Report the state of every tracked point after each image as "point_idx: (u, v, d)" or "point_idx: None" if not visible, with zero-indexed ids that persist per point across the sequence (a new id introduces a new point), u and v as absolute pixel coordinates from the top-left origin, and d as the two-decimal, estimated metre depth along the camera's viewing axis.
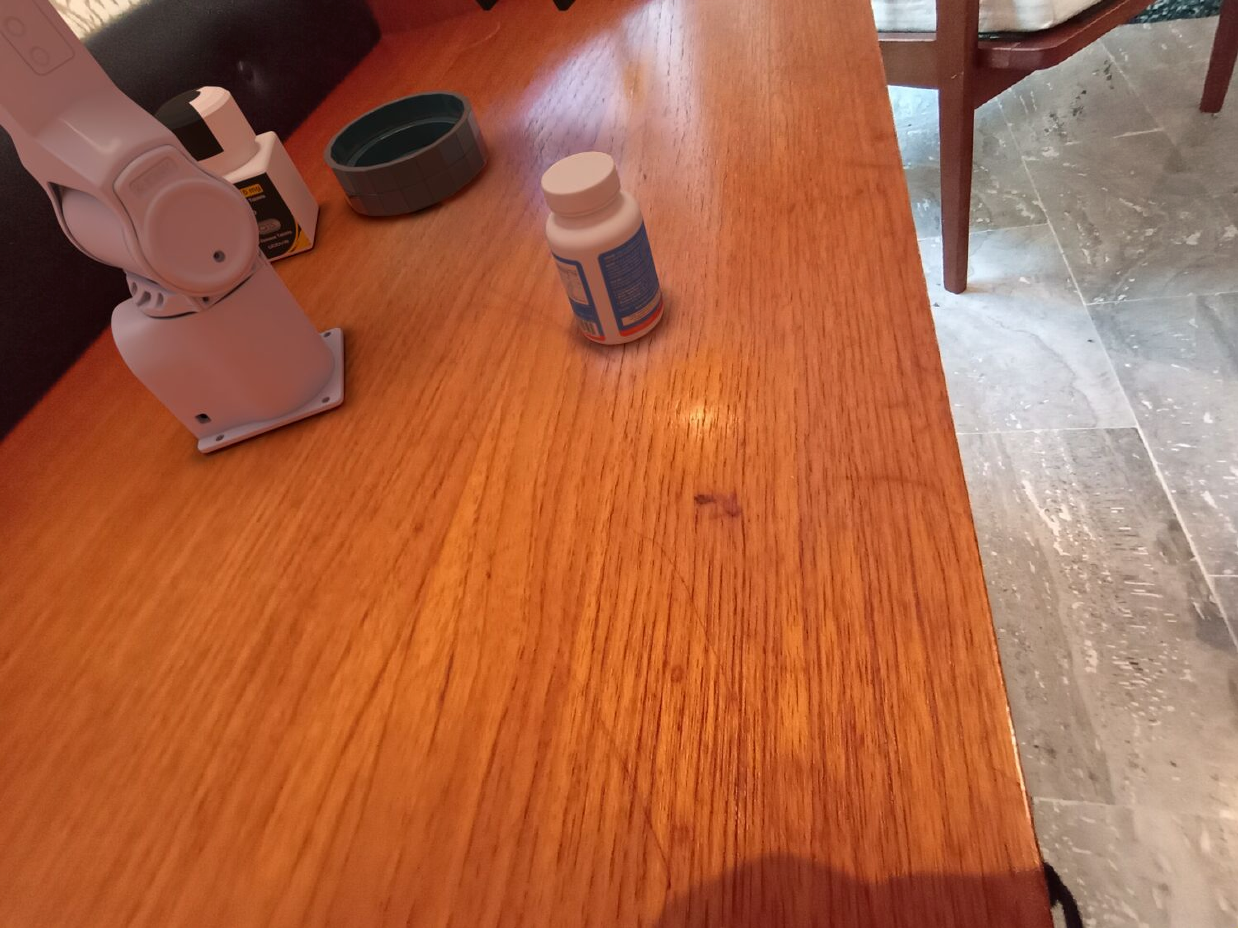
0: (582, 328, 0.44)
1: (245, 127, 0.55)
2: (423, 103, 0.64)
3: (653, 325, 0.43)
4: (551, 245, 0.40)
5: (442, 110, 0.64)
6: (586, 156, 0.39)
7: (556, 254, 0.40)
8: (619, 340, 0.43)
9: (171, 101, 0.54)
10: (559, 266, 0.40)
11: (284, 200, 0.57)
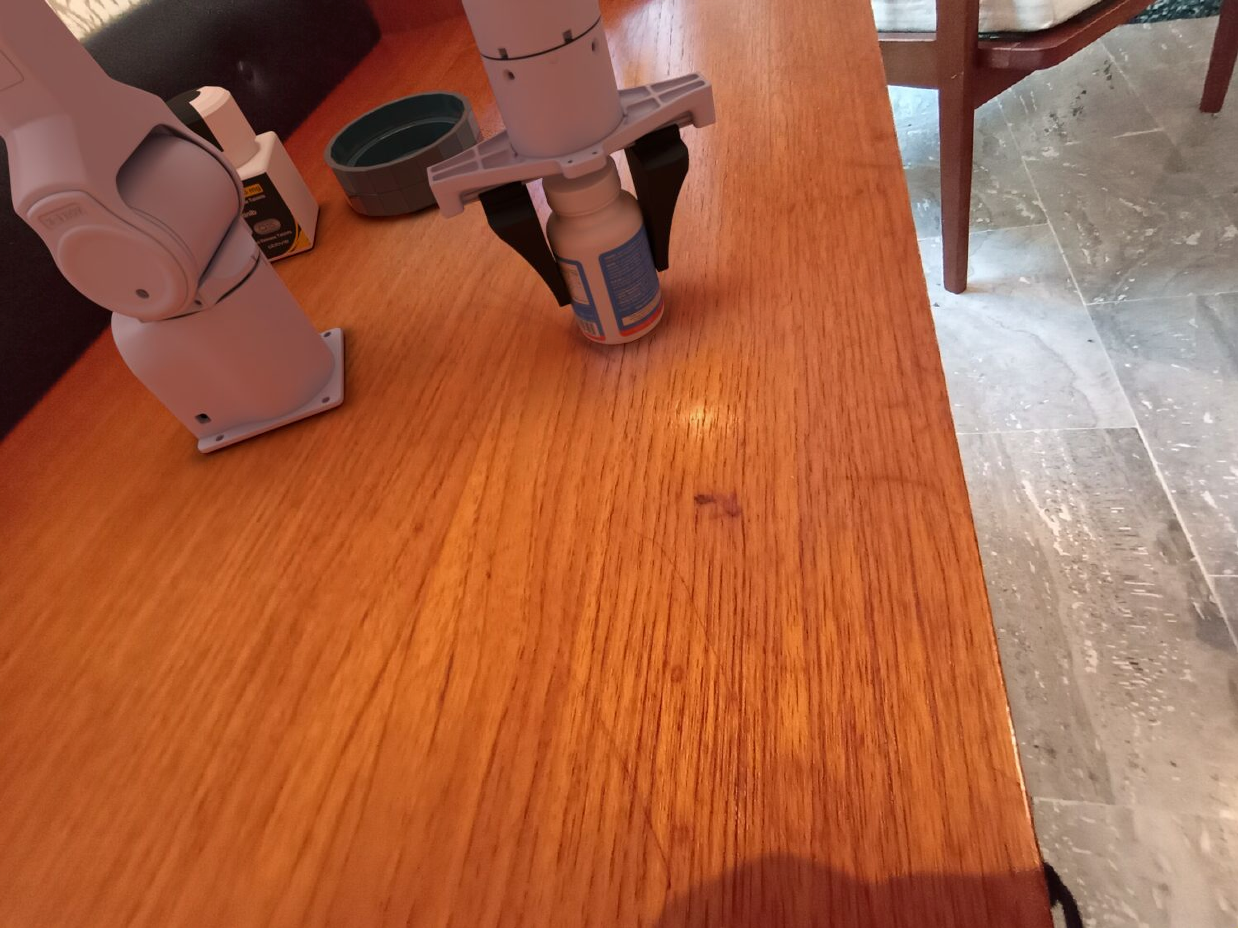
0: (582, 328, 0.44)
1: (245, 127, 0.55)
2: (423, 103, 0.64)
3: (653, 325, 0.43)
4: (552, 245, 0.40)
5: (442, 110, 0.64)
6: None
7: (557, 254, 0.40)
8: (619, 340, 0.43)
9: (171, 101, 0.54)
10: (559, 266, 0.40)
11: (284, 200, 0.57)
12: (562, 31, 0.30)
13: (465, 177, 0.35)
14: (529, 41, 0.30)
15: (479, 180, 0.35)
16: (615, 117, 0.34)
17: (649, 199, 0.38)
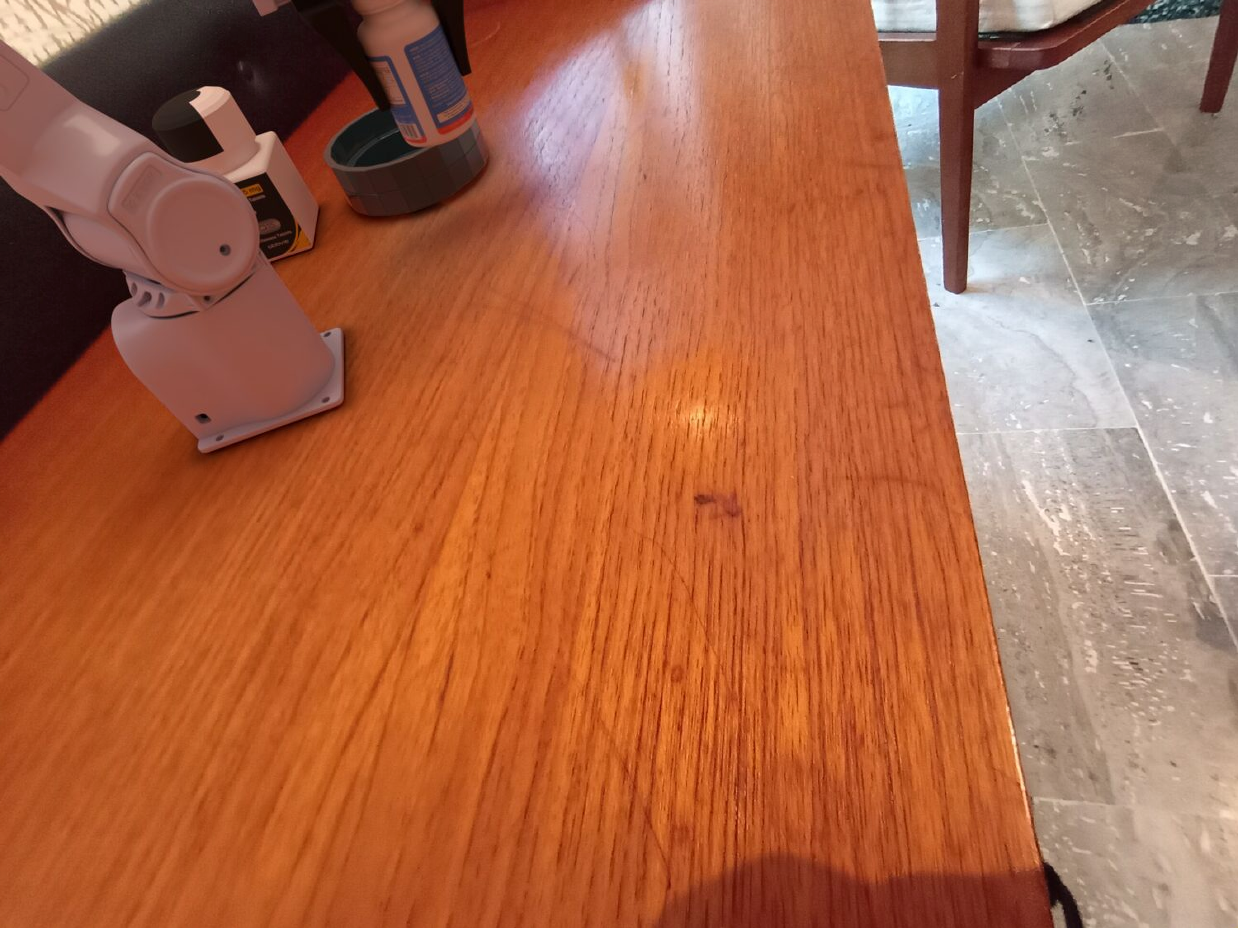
0: (406, 135, 0.50)
1: (245, 127, 0.55)
2: None
3: (467, 125, 0.50)
4: (363, 47, 0.46)
5: None
6: None
7: (369, 55, 0.46)
8: (439, 139, 0.50)
9: (171, 101, 0.54)
10: (374, 69, 0.47)
11: (284, 200, 0.57)
12: None
13: None
14: None
15: None
16: None
17: None
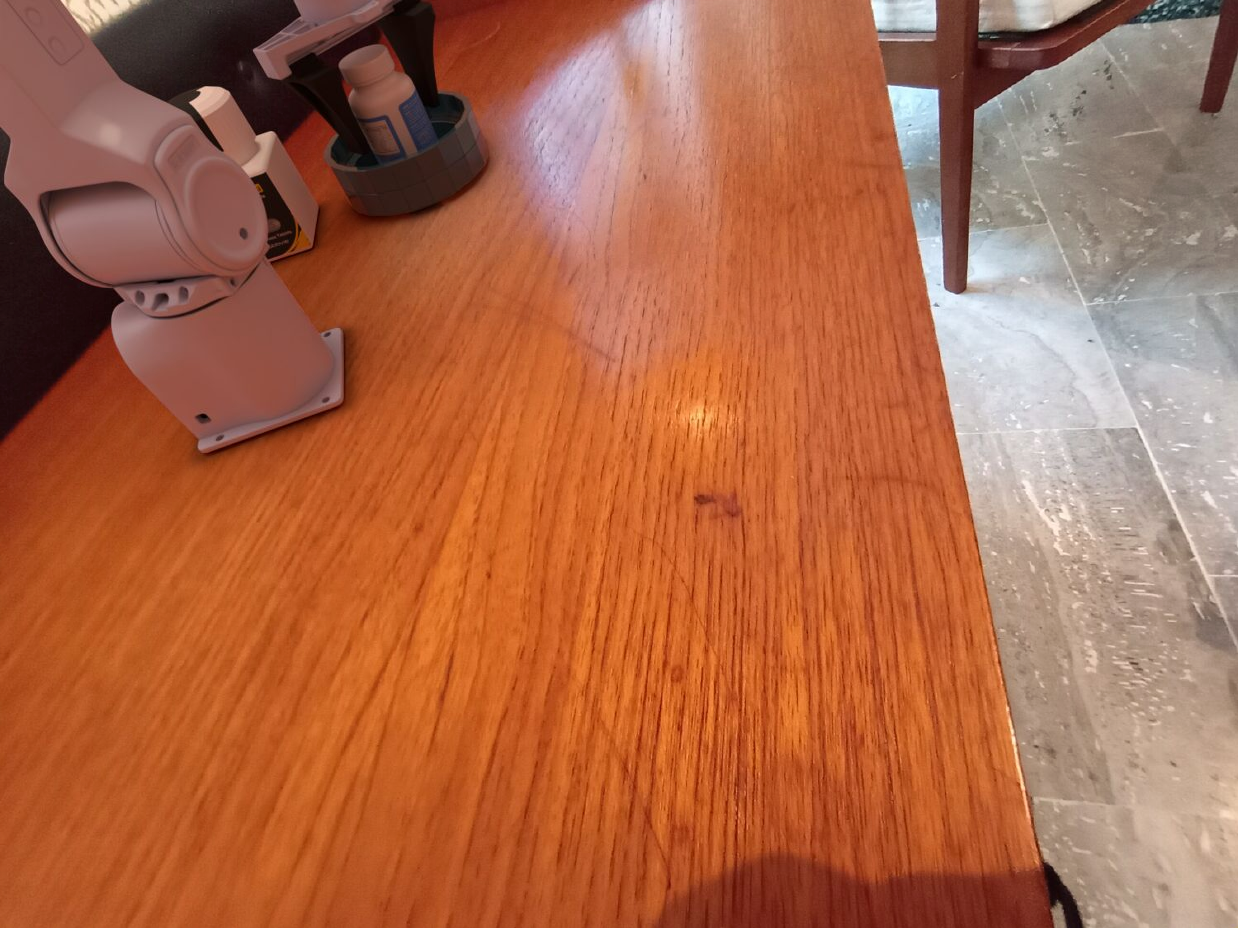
0: None
1: (245, 127, 0.55)
2: None
3: None
4: (361, 112, 0.57)
5: (442, 110, 0.64)
6: (361, 50, 0.57)
7: (367, 117, 0.57)
8: None
9: (171, 101, 0.54)
10: (371, 128, 0.58)
11: (284, 200, 0.57)
12: None
13: (289, 42, 0.51)
14: None
15: (299, 43, 0.51)
16: None
17: (417, 43, 0.57)
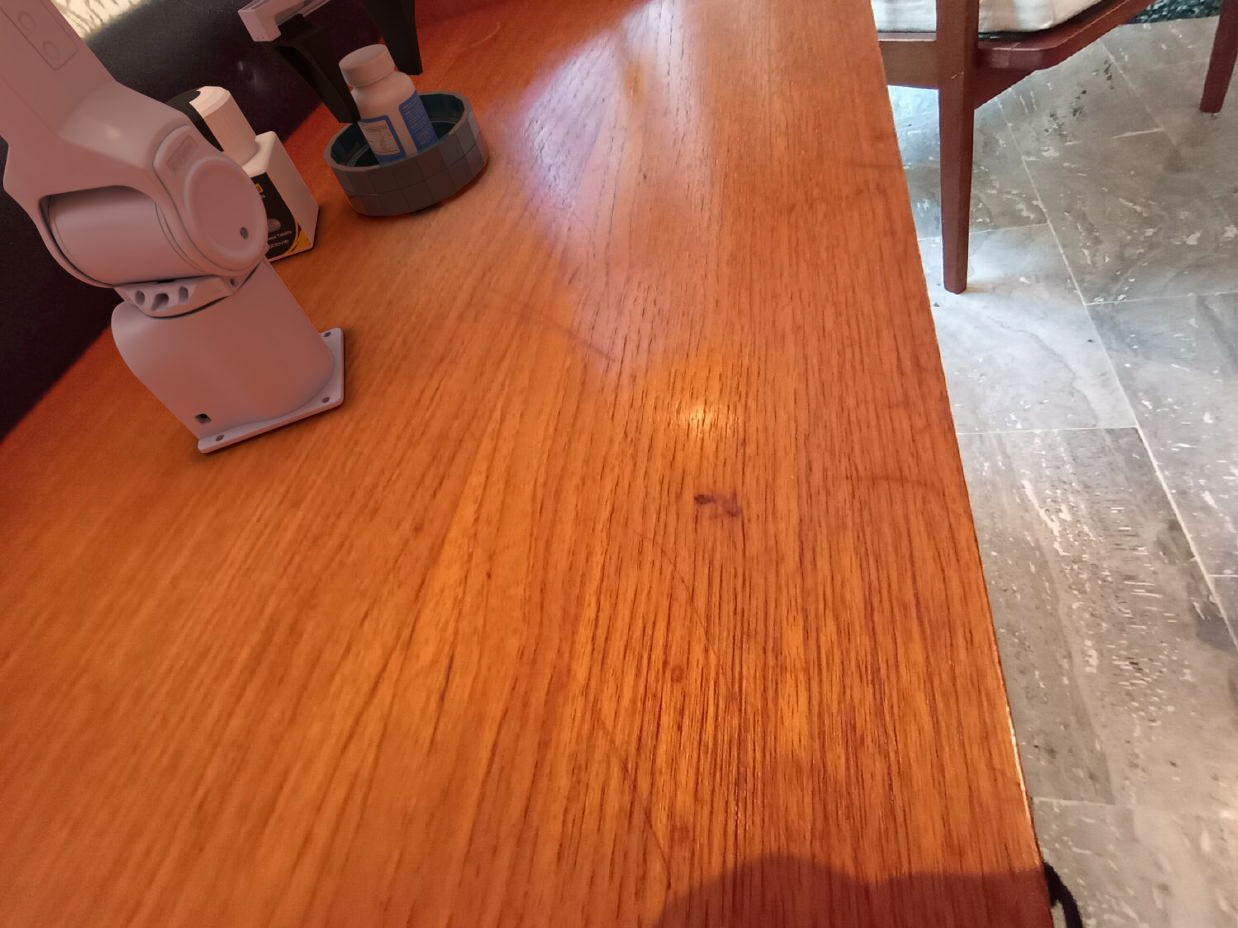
0: None
1: (245, 127, 0.55)
2: (423, 103, 0.64)
3: None
4: (361, 112, 0.57)
5: (442, 110, 0.64)
6: (361, 50, 0.57)
7: (367, 117, 0.57)
8: None
9: (171, 101, 0.54)
10: (371, 128, 0.58)
11: (284, 200, 0.57)
12: None
13: (277, 0, 0.48)
14: None
15: (288, 1, 0.49)
16: None
17: (400, 5, 0.55)
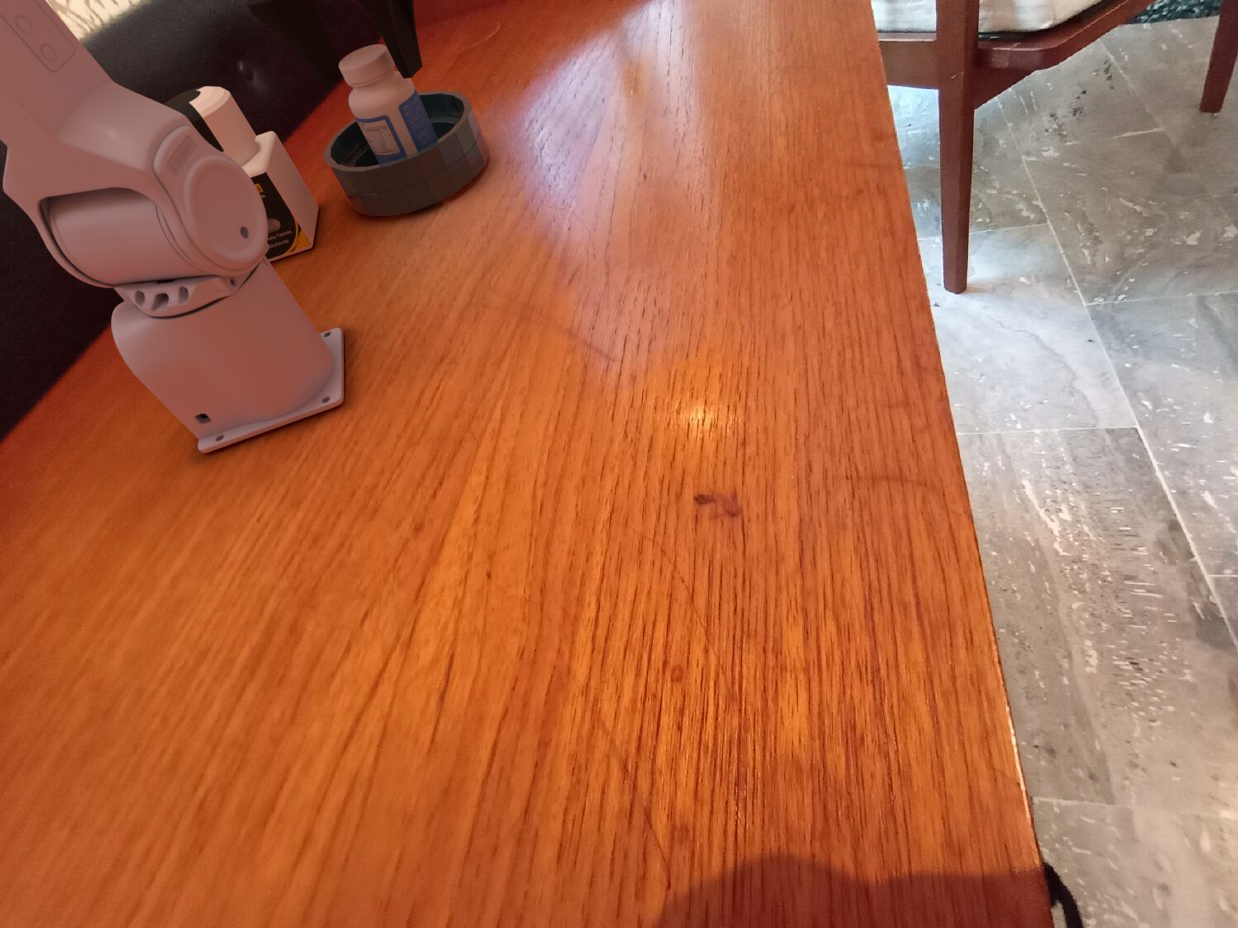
0: None
1: (245, 127, 0.55)
2: (423, 103, 0.64)
3: None
4: (361, 112, 0.57)
5: (442, 110, 0.64)
6: (361, 50, 0.57)
7: (367, 117, 0.57)
8: None
9: (171, 101, 0.54)
10: (371, 128, 0.58)
11: (284, 200, 0.57)
12: None
13: None
14: None
15: None
16: None
17: (314, 0, 0.56)
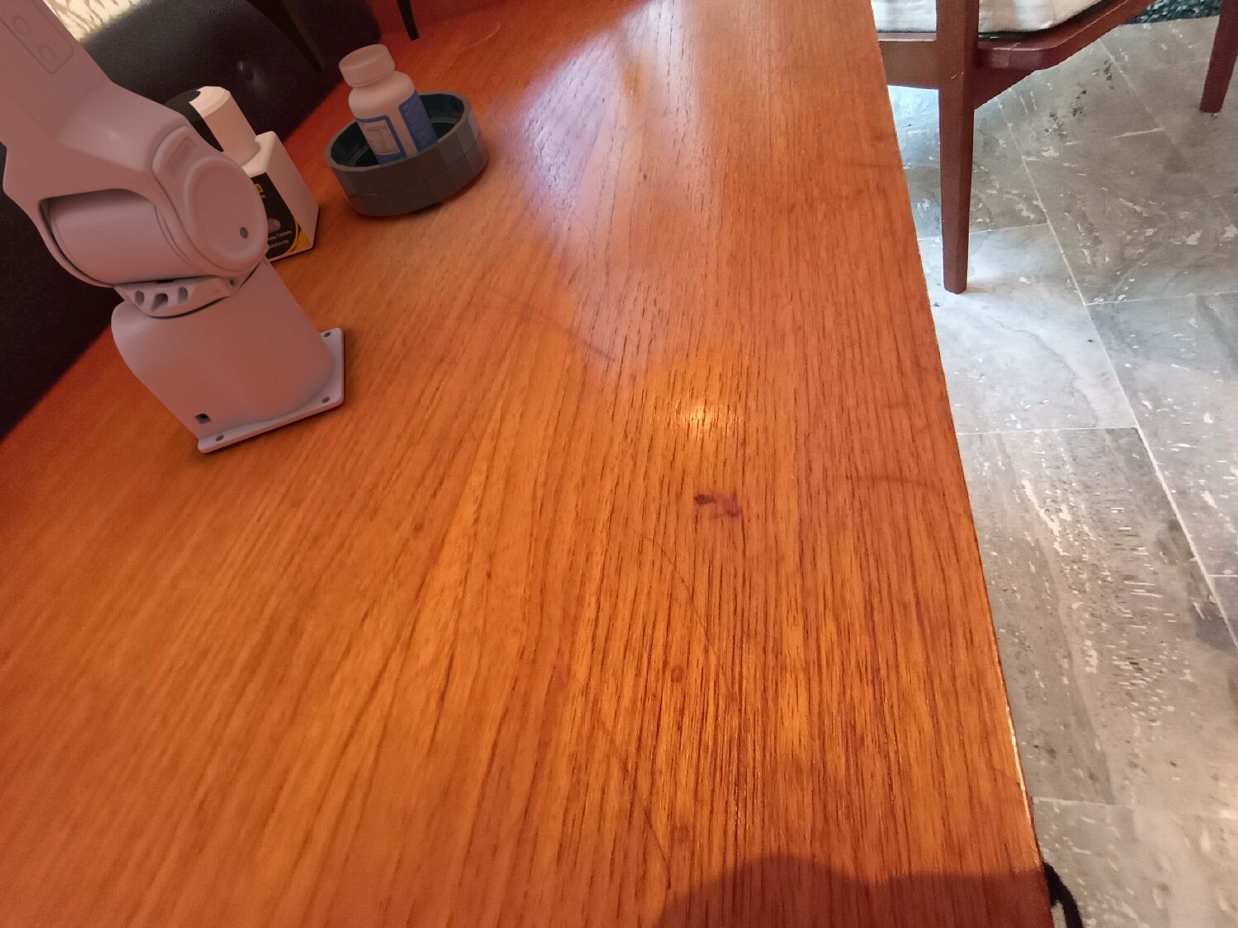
0: None
1: (245, 127, 0.55)
2: (423, 103, 0.64)
3: None
4: (361, 112, 0.57)
5: (442, 110, 0.64)
6: (361, 50, 0.57)
7: (367, 117, 0.57)
8: None
9: (171, 101, 0.54)
10: (371, 128, 0.58)
11: (284, 200, 0.57)
12: None
13: None
14: None
15: None
16: None
17: None
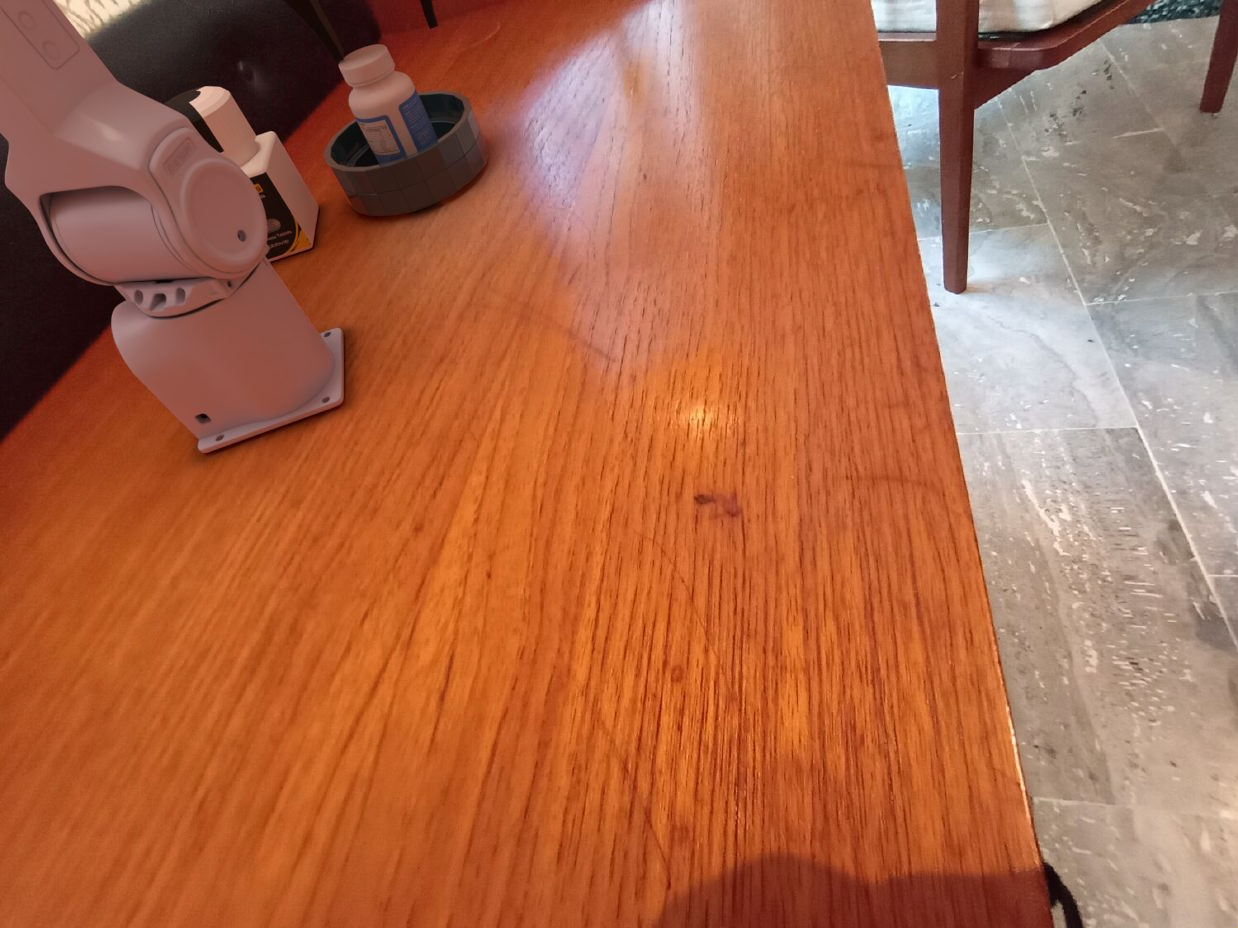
0: None
1: (245, 127, 0.55)
2: (423, 103, 0.64)
3: None
4: (361, 112, 0.57)
5: (442, 110, 0.64)
6: (361, 50, 0.57)
7: (367, 117, 0.57)
8: None
9: (171, 101, 0.54)
10: (371, 128, 0.58)
11: (284, 200, 0.57)
12: None
13: None
14: None
15: None
16: None
17: None
